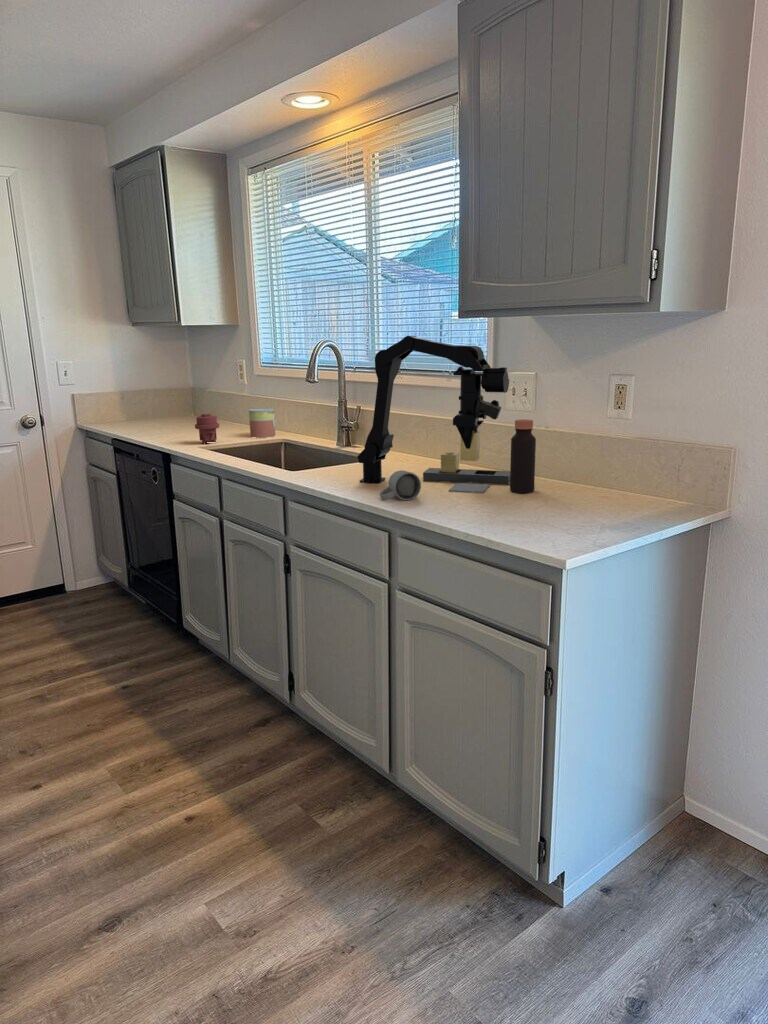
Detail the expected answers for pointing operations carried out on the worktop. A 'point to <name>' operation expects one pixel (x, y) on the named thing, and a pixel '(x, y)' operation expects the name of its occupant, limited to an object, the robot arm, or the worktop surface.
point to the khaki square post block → (450, 462)
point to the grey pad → (469, 487)
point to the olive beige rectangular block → (471, 448)
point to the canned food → (262, 422)
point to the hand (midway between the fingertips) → (469, 447)
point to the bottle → (522, 457)
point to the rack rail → (468, 476)
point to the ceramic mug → (402, 486)
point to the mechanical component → (207, 427)
